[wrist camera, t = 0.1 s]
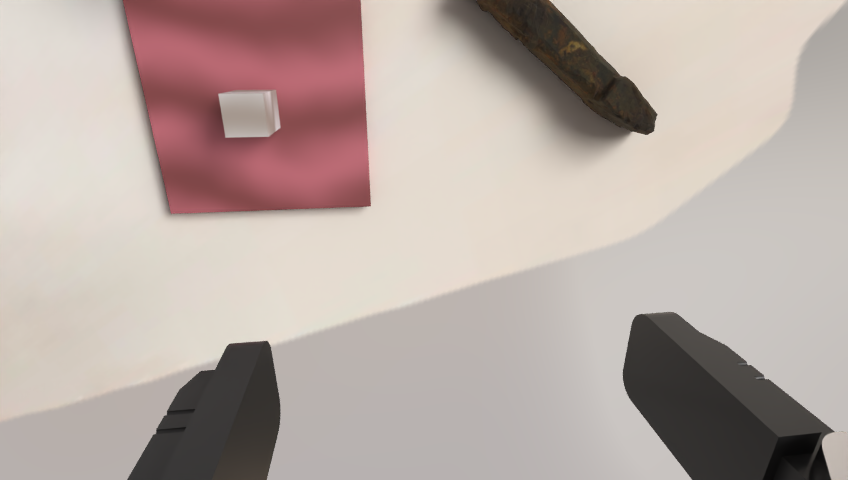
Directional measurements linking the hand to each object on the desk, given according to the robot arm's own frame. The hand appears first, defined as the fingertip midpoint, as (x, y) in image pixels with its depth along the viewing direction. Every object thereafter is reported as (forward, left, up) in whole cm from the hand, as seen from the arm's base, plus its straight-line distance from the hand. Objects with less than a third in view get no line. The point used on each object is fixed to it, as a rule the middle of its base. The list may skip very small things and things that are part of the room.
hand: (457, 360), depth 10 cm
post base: (-3, -10, -29) cm, 31 cm away
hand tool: (-7, +14, -30) cm, 33 cm away
